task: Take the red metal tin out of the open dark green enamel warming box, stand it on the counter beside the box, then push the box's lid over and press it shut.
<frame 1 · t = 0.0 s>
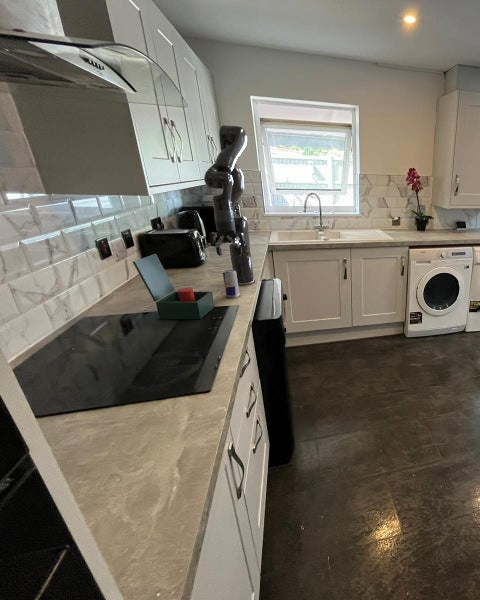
hand: (230, 255, 148), 17 cm above the worktop, tool pointing down, fingers open, 8 cm apart
lid: (155, 277, 122), point 15 cm above the worktop, hinge at 105.0°
warming box: (188, 312, 128), on the worktop
energy drink: (233, 296, 147), on the worktop
tin: (189, 310, 128), point 1 cm above the worktop, touching warming box
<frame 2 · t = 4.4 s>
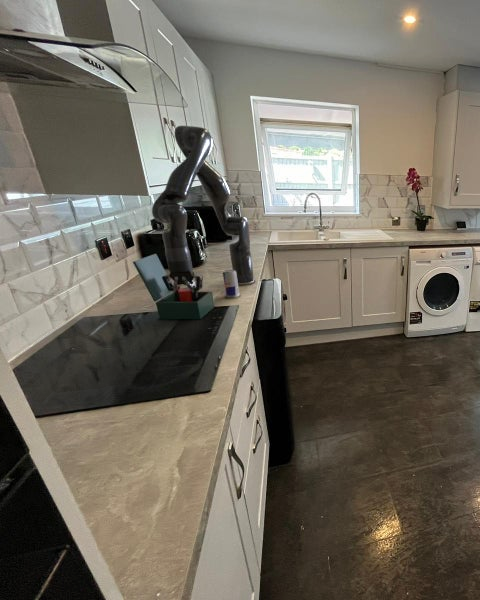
hand: (187, 300, 127), 5 cm above the worktop, tool pointing down, fingers closed on tin, 5 cm apart
tin: (189, 310, 128), point 1 cm above the worktop, touching gripper, warming box
everything else where it was.
when the fingers open (4 cm above the worktop, at t = 10.9 s): tin stays where it is, on the worktop.
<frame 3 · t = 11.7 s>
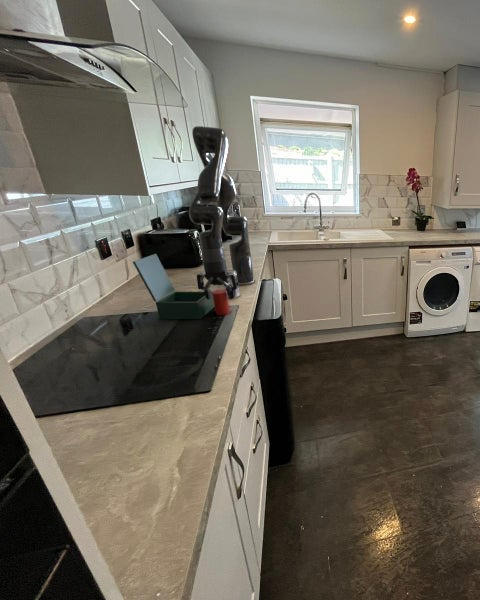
hand: (220, 299, 128), 6 cm above the worktop, tool pointing down, fingers open, 8 cm apart
tin: (223, 312, 130), on the worktop
everything else where it was.
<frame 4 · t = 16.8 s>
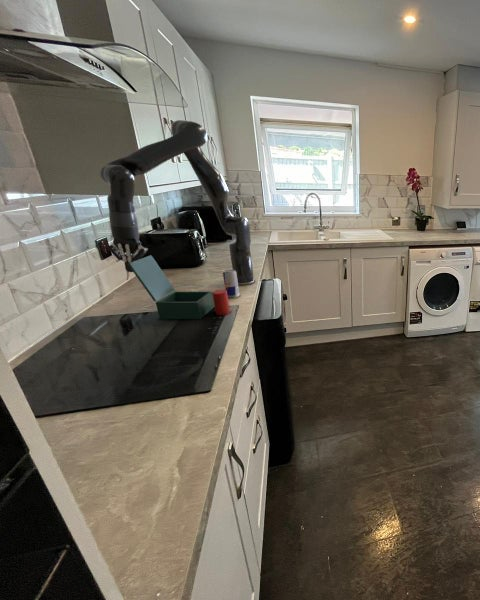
hand: (131, 271, 120), 17 cm above the worktop, tool pointing down, fingers closed
lid: (152, 277, 122), point 14 cm above the worktop, hinge at 112.2°, touching hand
everything else where it was.
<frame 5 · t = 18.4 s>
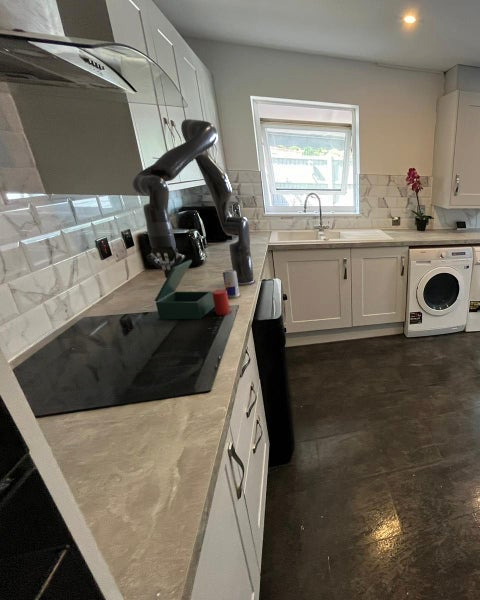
hand: (170, 279, 123), 14 cm above the worktop, tool pointing down, fingers closed
lid: (173, 280, 123), point 14 cm above the worktop, hinge at 55.1°, touching gripper
everything else where it was.
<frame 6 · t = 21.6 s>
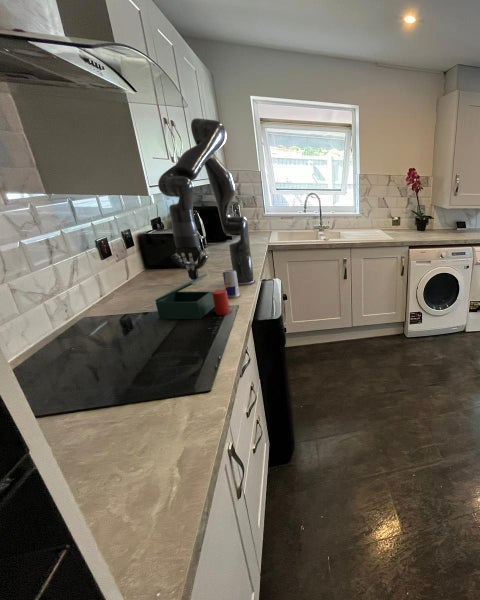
hand: (194, 279, 124), 14 cm above the worktop, tool pointing down, fingers closed
lid: (182, 287, 125), point 11 cm above the worktop, hinge at 26.7°
everything else where it was.
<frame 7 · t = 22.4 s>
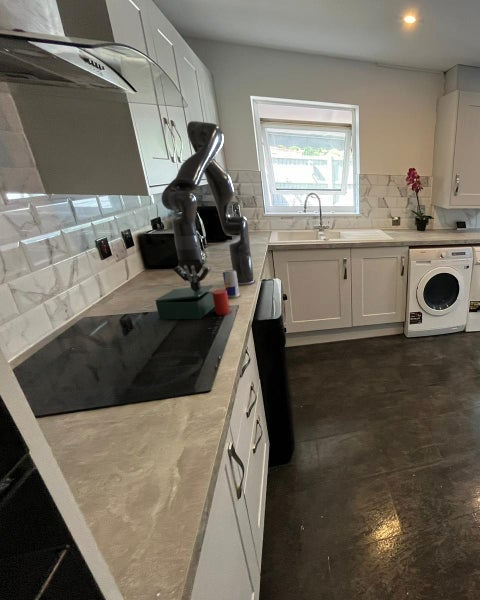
hand: (196, 290, 125), 9 cm above the worktop, tool pointing down, fingers closed
lid: (185, 293, 125), point 8 cm above the worktop, hinge at 7.3°, touching gripper
everything else where it was.
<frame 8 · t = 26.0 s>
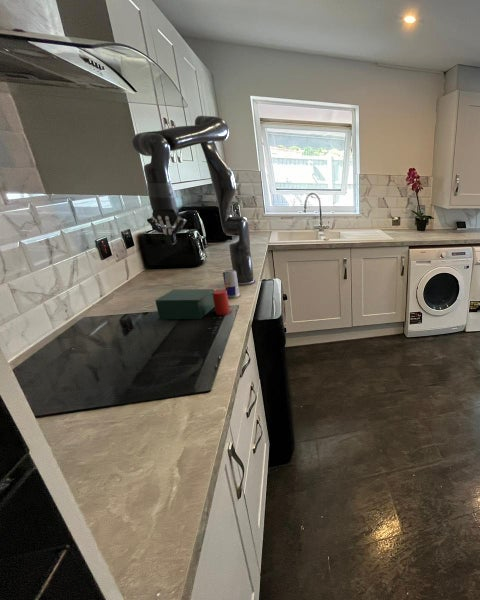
hand: (172, 244, 120), 27 cm above the worktop, tool pointing down, fingers closed
lid: (186, 295, 126), point 7 cm above the worktop, hinge at 0.8°
everything else where it was.
at the end: tin 0.1 cm from the target spot, on the worktop; tin tilted 0°; lid at +1° (first picture: +105°) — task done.
